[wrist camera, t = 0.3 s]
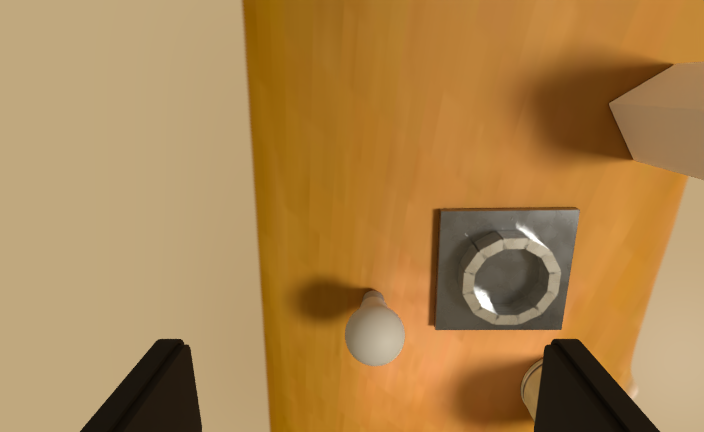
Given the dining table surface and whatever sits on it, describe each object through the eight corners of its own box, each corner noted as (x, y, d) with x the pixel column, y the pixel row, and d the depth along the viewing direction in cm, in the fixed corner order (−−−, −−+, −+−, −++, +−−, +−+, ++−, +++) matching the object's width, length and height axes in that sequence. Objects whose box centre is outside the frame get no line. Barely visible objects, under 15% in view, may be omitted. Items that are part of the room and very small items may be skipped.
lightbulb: (341, 310, 50) (335, 369, 40) (357, 267, 49) (355, 317, 38) (388, 324, 51) (394, 386, 40) (405, 282, 49) (417, 335, 39)
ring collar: (439, 208, 46) (445, 218, 43) (575, 207, 46) (592, 216, 42) (434, 325, 51) (439, 342, 47) (557, 324, 50) (571, 342, 47)
